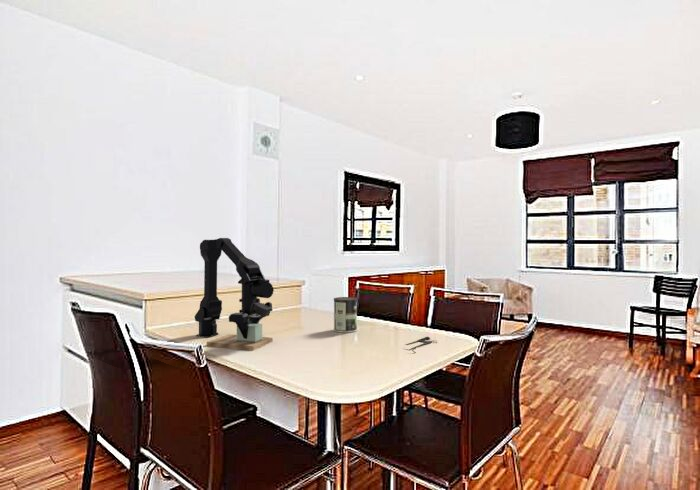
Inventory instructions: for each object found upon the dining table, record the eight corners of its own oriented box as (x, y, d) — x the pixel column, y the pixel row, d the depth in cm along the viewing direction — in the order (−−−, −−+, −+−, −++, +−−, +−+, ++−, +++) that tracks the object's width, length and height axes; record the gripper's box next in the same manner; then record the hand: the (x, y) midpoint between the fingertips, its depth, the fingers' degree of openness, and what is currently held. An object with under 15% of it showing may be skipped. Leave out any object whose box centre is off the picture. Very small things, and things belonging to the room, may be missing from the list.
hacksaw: (426, 339, 174) (426, 335, 174) (448, 343, 166) (448, 340, 166) (388, 350, 157) (388, 346, 157) (411, 355, 149) (411, 351, 149)
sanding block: (236, 340, 162) (236, 325, 162) (244, 338, 166) (244, 322, 166) (255, 342, 159) (255, 326, 159) (262, 339, 164) (262, 324, 164)
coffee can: (357, 327, 194) (357, 296, 193) (356, 332, 183) (357, 300, 183) (334, 327, 194) (334, 296, 194) (332, 332, 184) (332, 299, 183)
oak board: (206, 345, 161) (206, 341, 161) (228, 337, 174) (228, 334, 174) (253, 350, 154) (253, 346, 154) (272, 341, 168) (272, 337, 167)
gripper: (255, 300, 151) (255, 344, 151) (280, 294, 169) (279, 333, 169) (227, 298, 155) (227, 342, 155) (255, 292, 172) (255, 331, 173)
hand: (249, 337), depth 163 cm, fingers closed on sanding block, 5 cm apart
